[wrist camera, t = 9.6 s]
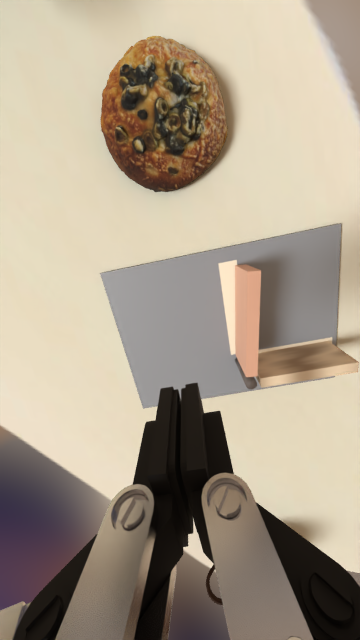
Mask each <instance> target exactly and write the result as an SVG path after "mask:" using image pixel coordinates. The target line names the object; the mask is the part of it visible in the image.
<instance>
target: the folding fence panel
mask: <svg viewBox="0 0 360 640" xmlns="http://www.w3.org/2000/svg"><path fill="white" fill-rule="evenodd" d="M260 290H261V270H259V269H256V268H254V267H252V266H249V265H247V264H244V265H235V355H236V357H237V359H238V361H239V363H240V365H241V368H242V370H243V372H244V374H245V376H246V377H256V376H258V348H259V319H260Z"/></svg>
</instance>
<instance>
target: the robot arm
mask: <svg viewBox="0 0 360 640" xmlns="http://www.w3.org/2000/svg"><path fill="white" fill-rule="evenodd" d="M193 518H194V522H195V526H196V529H197V532H198V534H199V538H200V542H201V545H202V549H203V552H204V553H205V555H206V556H207V557H208V558H209V559H210V560H211V561H212V562H213V564H214V565H215V569H216V574H217V579H218V584H219V588H220V593H221V598H222V603H223V607H224V612H225V617H226V622H227V627H228V631H229V636H230V640H360V573H355V572H350V571H346V570H345V569H344V568H343V567H342V566H341V565H339V564H338V563H337V562H335V561H334V560H333V559H331V558H330V557H329V556H327V555H326V554H325V553H323V552H322V551H321V550H319V549H318V548H317V547H315V546H314V545H313V544H311V543H310V542H309V541H307V540H306V539H305V538H303V537H302V536H301V535H299V534H298V533H297V532H295V531H294V530H292V529H291V528H290V527H288V526H287V525H286V524H284V523H283V522H282V521H280V520H279V519H278V518H276V517H275V516H274V515H272V514H271V513H270V512H268V511H267V510H266V509H264V508H263V507H262V506H260V505H259V504H258V503H256V502H255V500H254V497H253V495H252V493H251V490H250V489H249V487H248V485H247V484H246V482H244V481H243V480H242V479H241V478H240V477H238V476H236V475H234V473H233V468H232V464H231V459H230V455H229V450H228V445H227V441H226V436H225V431H224V427H223V422H222V417H221V413H220V411H216V412H209V413H204V411H203V406H202V401H201V396H200V391H199V387H198V383H191V384H186V385H185V388H182V389H181V399H180V394H179V390H178V389H175V390H174V388H173V387H166V388H161V389H160V395H159V402H158V408H157V415H156V421H149V422H146V424H145V428H144V433H143V437H142V442H141V447H140V452H139V457H138V462H137V467H136V471H135V476H134V481H133V485H130V486H128V487H126V488H124V489H123V490H121V491H120V492H119V493H118V494H117V495H116V496H115V497H114V499H113V500H112V501H111V503H110V505H109V507H108V510H107V512H106V514H105V517H104V519H103V522H102V524H101V527H100V529H99V532H98V534H97V535H96V536H95V537H94V538H93V539H92V540H91V541H90V542H89V543H88V544H87V545H86V546H85V547H84V548H83V549H82V550H81V551H80V552H79V553H78V554H77V555H76V556H75V557H74V558H73V559H72V560H71V561H70V562H69V563H68V564H67V565H66V566H65V567H64V568H63V569H62V570H61V571H60V572H59V573H58V574H57V575H56V576H55V577H54V578H53V579H52V580H51V582H49V583H48V585H46V586H45V588H43V590H42V591H41V592H40V593H39V594H38V595H37V596H36V597H35V599H34V600H33V601H32V602H31V603H28V604H25V602H20V603H18V604H15V605H13V606H11V607H8V608H6V609H3V610H1V611H0V640H168V634H169V626H170V618H171V609H172V601H173V594H174V587H175V578H176V564H177V562H178V561H179V560H180V558H181V557H182V555H183V547H186V546H188V534H192V533H193Z"/></svg>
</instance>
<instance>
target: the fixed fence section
mask: <svg viewBox="0 0 360 640" xmlns="http://www.w3.org/2000/svg"><path fill="white" fill-rule="evenodd" d="M235 362H236V365H237V367H238V369H239V372H240V374H241V376H242V378H243V381H244V383H245V385H246V387H247V388H248V389H254V388H256V387H257V382H256V380H255V378H254V377H246V376H245V374H244V372H243V370H242V368H241V365H240V363H239V361H238V359H237V357H236V359H235ZM358 365H359V362H358V361H356V360H355V359H353V358H352V357H351V356H349V355H348V354H346V353H345V352H343V351H342V350H341V349H339V348H338V347H336V346H335V345H333V344H332V343H331V342H329V341H324V342H318V343H313V344H307V345H301V346H295V347H290V348H284V349H278V350H272V351H267V352H261V353H258V376H256V379H257V381H258V382H259V384H260V386H261V388H263V387H270V386H276V385H282V384H288V383H294V382H300V381H306V380H312V379H318V378H325V377H331V376H337V375H343V374H349V373H355V372H358Z"/></svg>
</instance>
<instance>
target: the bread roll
mask: <svg viewBox="0 0 360 640" xmlns="http://www.w3.org/2000/svg"><path fill="white" fill-rule="evenodd" d="M102 97H103V100H102V115H101V128H102V132H103V134H104V137H105V140H106V144H107V147H108V149H109V152H110V153H111V155H112V157H113V159H114V161H115V162H116V163H117V165H118V167H119V168H120V169H121V171H123V172H124V173H125V174H126V175H127V176H128V177H129V178H130V179H132V180H133V181H135V182H136V183H138V184H140V185H142V186H143V187H145V188H148V189H150V190H154V192H160V191H164V192H169V191H173V190H177V189H179V188H181V187H183V186H185V185H187V184H189V183H190V182H192V181H194V180H195V179H196V178H197V177H199V176H200V175H202V174H203V173H204V172H205V171H206V170H207V169H208V168H209V167H210V166H211V165H212V163H213V162H214V161H215V160H216V158H217V157H218V155H219V153H220V151H221V149H222V146H223V144H224V143H225V140H226V137H227V129H228V128H227V126H226V116H225V112H224V103H223V99H222V95H221V92H220V89H219V86H218V81H217V80H216V77H215V75H214V73H213V71H212V70H211V69H210V66H208V64H207V63H206V62H205V61H204V60H203V59H202V58H201V57H200V56H198V55H197V54H196V53H195V51H193V50H189V49H186V48H185V46H184V45H181V44H179V43H178V42H176V41H174V40H173V39H168V40H166V39H165V38H163V37H160V36H152V37H148V38H147V40H141V41H139V42H137V43H136V44H135V45H134V47H133V46H131V47H130V48H129V50H128V51H127V52H126V53H125V54H124V57H123V58H122V59H121V60H119V62H118V63H117V65H116V66H115V67H114V69H113V70H112V71H111V72H110V75H109V79H108V81H107V85H106V88H105V89H104V90H103V93H102Z"/></svg>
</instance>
